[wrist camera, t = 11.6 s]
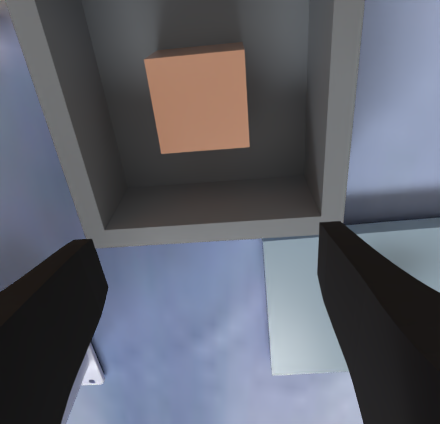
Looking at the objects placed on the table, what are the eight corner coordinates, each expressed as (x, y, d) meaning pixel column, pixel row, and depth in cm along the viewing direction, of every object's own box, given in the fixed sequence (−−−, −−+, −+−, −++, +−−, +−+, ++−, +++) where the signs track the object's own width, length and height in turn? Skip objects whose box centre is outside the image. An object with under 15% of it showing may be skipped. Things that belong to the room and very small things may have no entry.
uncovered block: (170, 132, 19) (161, 154, 16) (157, 50, 17) (143, 59, 14) (247, 126, 19) (249, 147, 16) (242, 41, 17) (244, 49, 14)
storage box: (117, 199, 22) (89, 248, 17) (52, -43, 16) (-15, -59, 11) (319, 185, 21) (342, 233, 17) (333, -76, 15) (375, -107, 11)
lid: (269, 355, 29) (277, 421, 25) (260, 225, 23) (268, 281, 18) (431, 346, 28) (470, 413, 24) (469, 207, 22) (533, 262, 17)
